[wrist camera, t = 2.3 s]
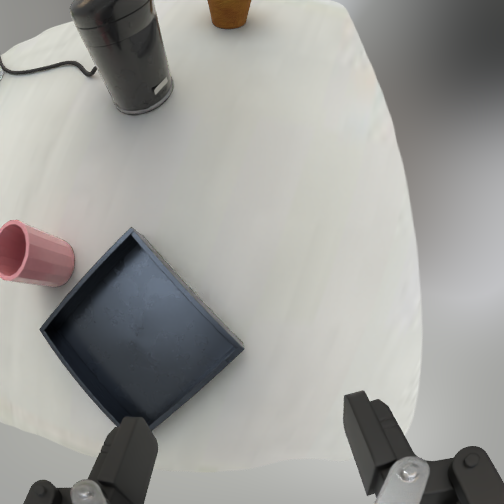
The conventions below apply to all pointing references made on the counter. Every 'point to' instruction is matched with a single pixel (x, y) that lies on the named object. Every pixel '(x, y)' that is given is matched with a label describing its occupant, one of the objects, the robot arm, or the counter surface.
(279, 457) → the counter surface
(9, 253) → the cup
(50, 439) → the counter surface
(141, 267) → the dark grey storage tray
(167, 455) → the counter surface
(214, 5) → the disposable coffee cup
